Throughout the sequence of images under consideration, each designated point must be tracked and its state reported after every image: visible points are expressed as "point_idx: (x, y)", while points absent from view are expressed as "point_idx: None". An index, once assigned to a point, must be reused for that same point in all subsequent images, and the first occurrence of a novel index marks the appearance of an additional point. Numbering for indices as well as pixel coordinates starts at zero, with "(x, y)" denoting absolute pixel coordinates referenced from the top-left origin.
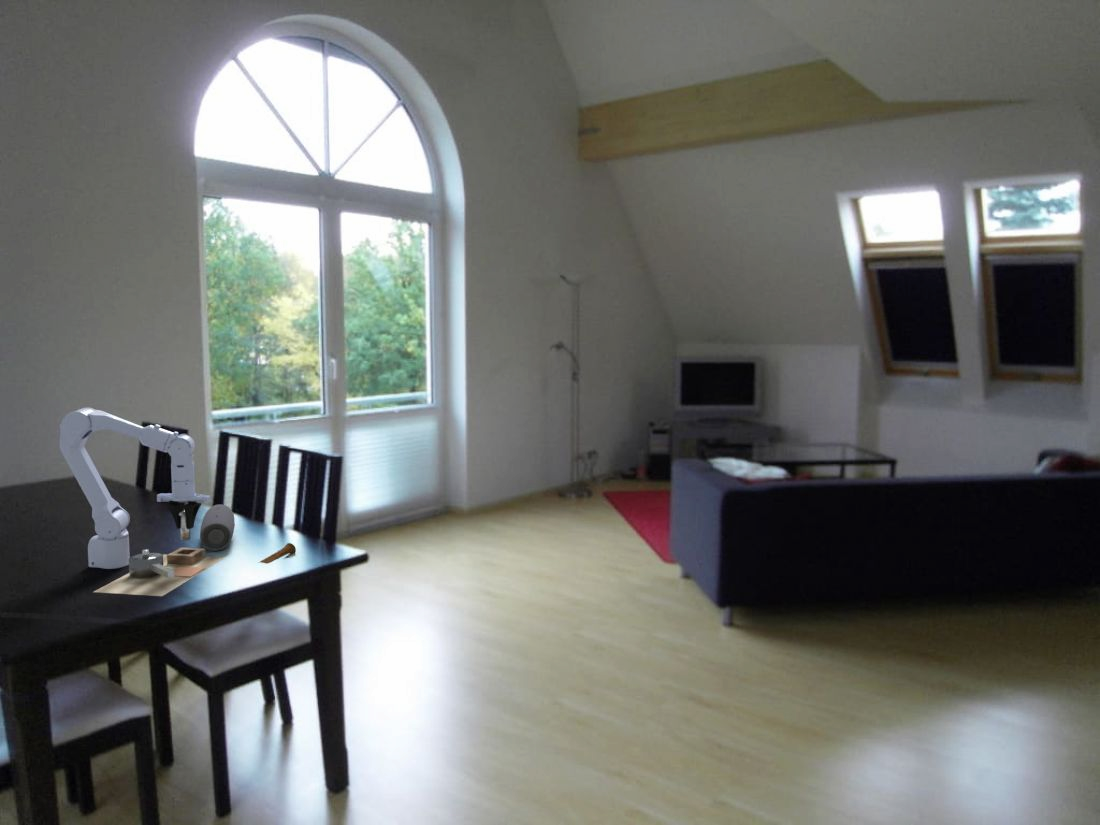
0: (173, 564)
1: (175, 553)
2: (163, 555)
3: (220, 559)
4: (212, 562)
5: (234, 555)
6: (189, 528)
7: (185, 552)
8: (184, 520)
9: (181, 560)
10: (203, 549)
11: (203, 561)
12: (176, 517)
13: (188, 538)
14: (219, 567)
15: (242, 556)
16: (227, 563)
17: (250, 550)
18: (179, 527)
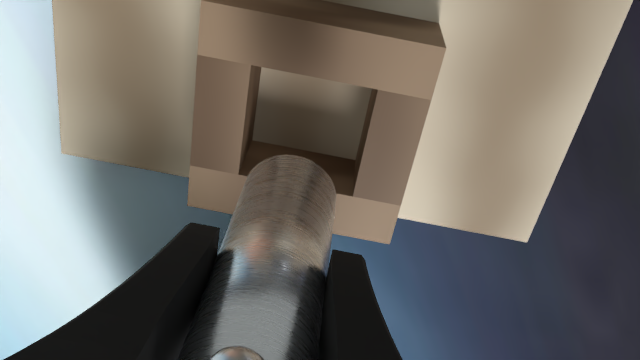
0: (382, 7)
1: (382, 92)
2: (527, 222)
3: (70, 116)
4: (91, 49)
5: (79, 247)
6: (184, 227)
7: (338, 179)
8: (225, 315)
9: (307, 9)
10: (190, 188)
11: (171, 74)
12: (340, 353)
13: (246, 180)
14: (35, 5)
15: (18, 227)
16: (31, 95)
17: (37, 322)
18: (330, 266)
